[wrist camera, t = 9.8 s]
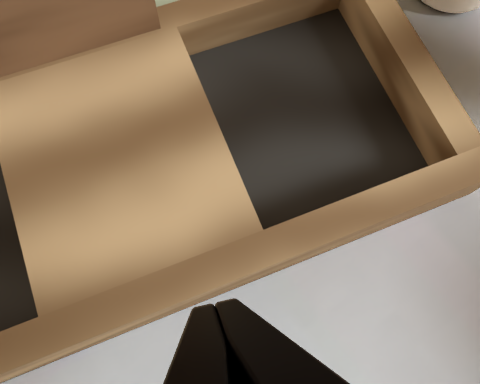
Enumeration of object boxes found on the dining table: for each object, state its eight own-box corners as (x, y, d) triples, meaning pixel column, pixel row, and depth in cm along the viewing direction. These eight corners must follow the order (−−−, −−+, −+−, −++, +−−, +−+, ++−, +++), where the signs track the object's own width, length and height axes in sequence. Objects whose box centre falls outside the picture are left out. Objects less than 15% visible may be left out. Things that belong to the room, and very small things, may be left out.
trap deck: (469, 193, 23) (504, 172, 20) (-192, 460, 18) (-270, 482, 15) (289, -110, 29) (296, -159, 26) (-228, 30, 25) (-287, -11, 22)
